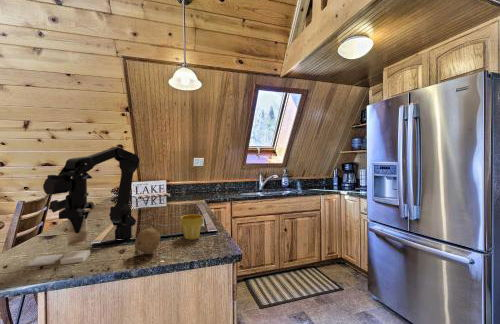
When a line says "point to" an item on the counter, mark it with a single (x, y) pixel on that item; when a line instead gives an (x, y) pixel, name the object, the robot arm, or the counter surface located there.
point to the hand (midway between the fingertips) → (78, 232)
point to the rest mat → (44, 260)
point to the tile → (75, 256)
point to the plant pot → (191, 226)
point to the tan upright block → (77, 234)
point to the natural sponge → (147, 241)
